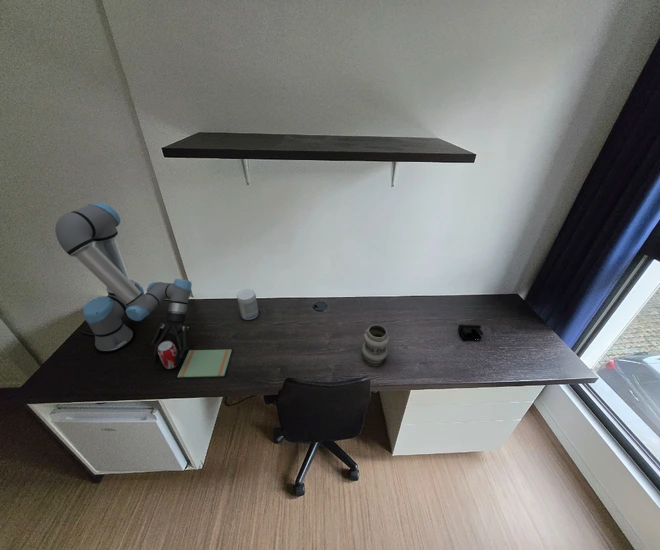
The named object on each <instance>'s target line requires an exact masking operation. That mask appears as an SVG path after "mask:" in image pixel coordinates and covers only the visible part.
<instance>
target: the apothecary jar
mask: <svg viewBox="0 0 660 550" xmlns="http://www.w3.org/2000/svg"><path fill="white" fill-rule="evenodd" d="M363 340H364V342H363V343H362V345H361V352H362V354H363V355H362V358H363V359H362V360H364V361H365V362H366V364H367V365H369V366H372V367H378V366H381V365H382V364H383V363H384V361H385V358H386V357H387V356H388V353H389V348H388V344H389V343H390V342H391V337H390V333H389V332H388V331H387V328H386V327H385V326H383V325H381V324H372V325H370V326H369V327H368V328H367V329H365V331H364V332H363Z"/></svg>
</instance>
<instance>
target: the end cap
mask: <svg viewBox="0 0 660 550" xmlns="http://www.w3.org/2000/svg"><path fill="white" fill-rule="evenodd" d="M481 328H482V326H481V324H470V323H469V324H465V323H464V324H462V323H461V324H459V325H458V327H457V332H458V333H457V334H458V335H459V337H460V339H461V341H463V342H480V341H481V339H482V338H483V337H482V336H483V335H484V332H483V331H482V329H481ZM475 339H476V340H475ZM477 339H480V340H477Z"/></svg>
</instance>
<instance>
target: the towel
mask: <svg viewBox="0 0 660 550" xmlns="http://www.w3.org/2000/svg"><path fill="white" fill-rule="evenodd" d="M232 351H233V349H230V348H229V349H227V348H226V349H188V353H187V354H186V356H185V358H184V360H183V363H182V366H181V368H180V370H179V372H178V375H177V377H176V378H178V379H181V378H215V377H216V378H217V377H225V376H226V372H227V368H228V366H229V363H230V358H231V355H232Z"/></svg>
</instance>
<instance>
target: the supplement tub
mask: <svg viewBox="0 0 660 550" xmlns="http://www.w3.org/2000/svg"><path fill="white" fill-rule="evenodd" d="M236 299H237V303H238V308H239V313H240V317H241V318H242V319H243V320H245V321H251V320H254V319H256V318H257V317H258V316H259V306H258V301H257V295H256V292H255V290H254V289H250V288H245V289H242V290H240V291H239V292H238V293H237V294H236Z"/></svg>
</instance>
